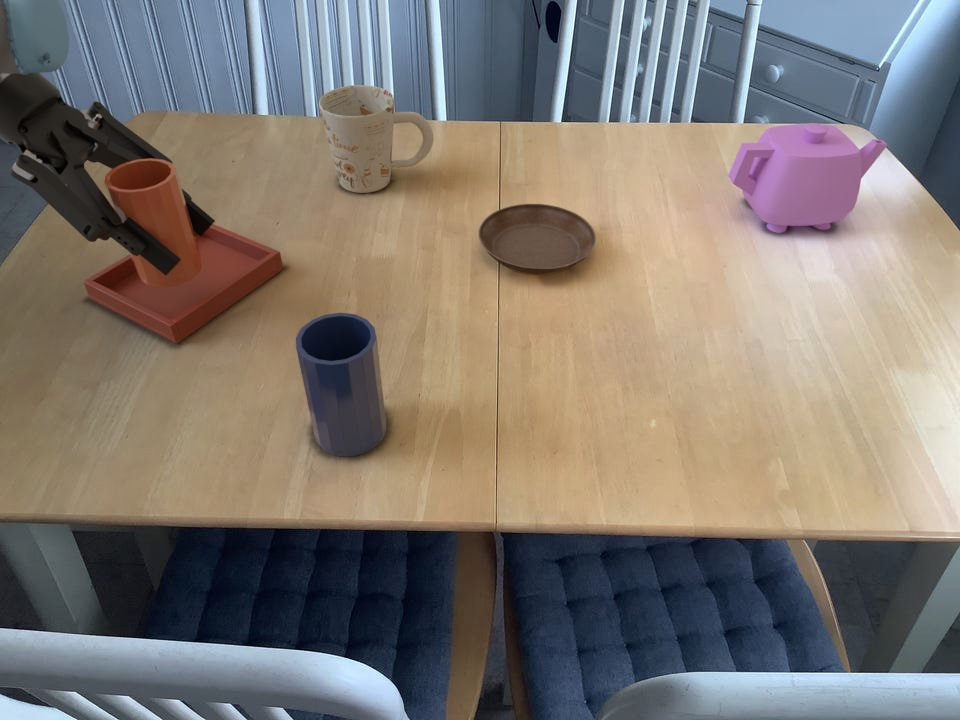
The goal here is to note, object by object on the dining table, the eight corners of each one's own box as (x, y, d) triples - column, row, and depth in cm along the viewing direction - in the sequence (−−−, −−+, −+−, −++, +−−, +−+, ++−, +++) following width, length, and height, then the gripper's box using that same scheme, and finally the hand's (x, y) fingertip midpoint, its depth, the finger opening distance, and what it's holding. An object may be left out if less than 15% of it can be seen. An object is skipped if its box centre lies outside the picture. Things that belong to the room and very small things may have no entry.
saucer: (608, 235, 103) (611, 218, 101) (570, 298, 93) (572, 279, 91) (506, 210, 107) (506, 193, 105) (459, 267, 97) (458, 249, 95)
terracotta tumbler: (167, 295, 85) (135, 198, 77) (125, 274, 88) (89, 179, 80) (215, 263, 89) (189, 169, 81) (173, 245, 92) (144, 152, 84)
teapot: (737, 243, 101) (761, 154, 93) (706, 194, 110) (725, 109, 102) (882, 233, 103) (919, 145, 95) (839, 186, 112) (869, 101, 104)
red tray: (176, 344, 86) (170, 326, 84) (90, 299, 92) (82, 281, 90) (283, 269, 97) (280, 251, 95) (199, 233, 103) (194, 216, 101)
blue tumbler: (355, 467, 73) (340, 375, 65) (300, 437, 76) (279, 345, 68) (400, 422, 78) (391, 329, 69) (346, 395, 80) (331, 303, 72)
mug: (328, 167, 116) (317, 87, 108) (429, 158, 118) (426, 79, 110) (331, 201, 109) (320, 119, 101) (439, 191, 111) (437, 110, 103)
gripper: (50, 75, 87) (216, 217, 95) (-83, 159, 72) (127, 318, 81) (76, 30, 82) (248, 184, 91) (-60, 110, 68) (159, 284, 76)
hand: (191, 247), depth 86 cm, fingers closed on terracotta tumbler, 7 cm apart
